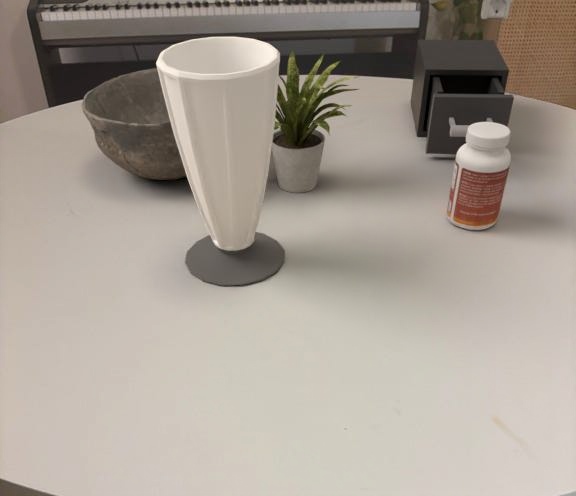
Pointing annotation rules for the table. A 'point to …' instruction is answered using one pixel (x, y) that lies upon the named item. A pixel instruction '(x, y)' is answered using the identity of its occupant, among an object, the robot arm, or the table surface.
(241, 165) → the cup
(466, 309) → the table surface
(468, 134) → the pill bottle
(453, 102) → the drawer
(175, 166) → the bowl
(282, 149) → the house plant
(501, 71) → the cabinet
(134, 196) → the table surface
